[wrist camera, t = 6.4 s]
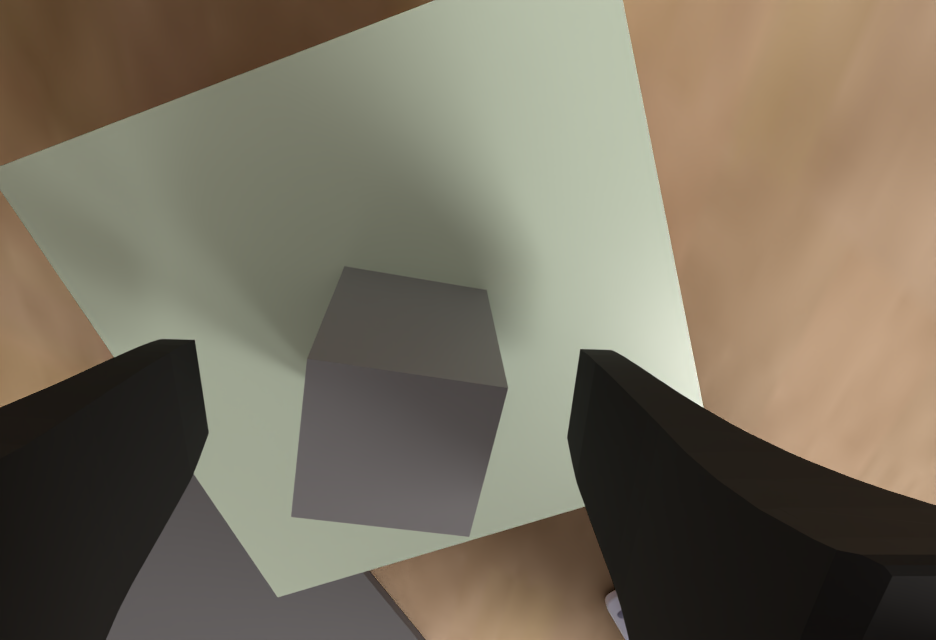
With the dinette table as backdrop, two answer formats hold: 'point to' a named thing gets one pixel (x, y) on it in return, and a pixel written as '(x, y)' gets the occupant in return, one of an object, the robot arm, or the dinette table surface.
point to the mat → (241, 592)
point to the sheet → (382, 270)
